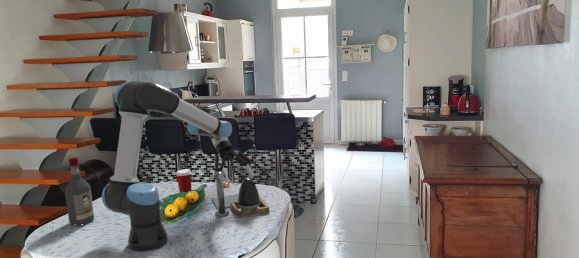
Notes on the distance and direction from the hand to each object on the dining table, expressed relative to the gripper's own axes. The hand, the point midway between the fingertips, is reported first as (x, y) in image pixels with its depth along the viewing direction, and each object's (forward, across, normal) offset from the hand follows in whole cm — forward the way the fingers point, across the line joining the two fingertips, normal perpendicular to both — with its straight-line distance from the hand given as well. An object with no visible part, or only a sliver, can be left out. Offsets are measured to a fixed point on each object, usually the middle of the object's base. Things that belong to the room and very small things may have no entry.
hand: (241, 180), depth 217 cm
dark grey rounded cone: (+14, 0, +5) cm, 15 cm away
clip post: (+10, -12, +8) cm, 18 cm away
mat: (+2, -1, +16) cm, 16 cm away
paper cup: (-14, -14, +33) cm, 38 cm away
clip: (+3, -15, -10) cm, 19 cm away
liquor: (-17, -63, +36) cm, 74 cm away
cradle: (+14, 0, +5) cm, 14 cm away
